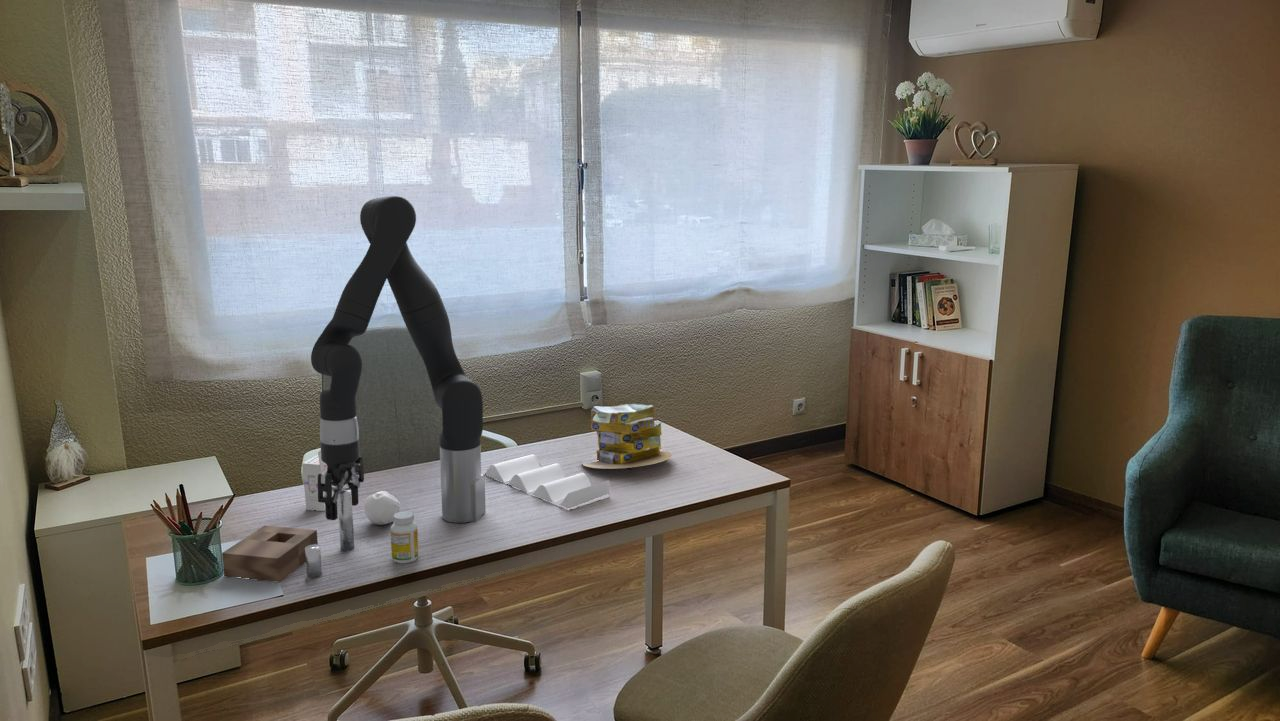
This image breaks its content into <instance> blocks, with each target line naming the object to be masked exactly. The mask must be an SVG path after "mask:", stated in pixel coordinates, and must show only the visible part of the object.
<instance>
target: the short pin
mask: <svg viewBox="0 0 1280 721" xmlns="http://www.w3.org/2000/svg"><path fill="white" fill-rule="evenodd" d="M321 551H322V550H321V545H320V544H318V545H316V544H313V545H309V546H306V547H305V556H306V562H305V566H306V578H307V579H309V580H315V579H319V578H321V577H322V576H323V569H322V566H323V565H322V556H321V555H322V552H321Z"/></svg>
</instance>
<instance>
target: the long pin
mask: <svg viewBox="0 0 1280 721" xmlns="http://www.w3.org/2000/svg"><path fill="white" fill-rule="evenodd" d="M337 500H338V502H337V513H338V528H339V531H338V532H339V541H340V542H339V543H340V551H343V552H351V551H354V550H355V535H354V519H353V518H354V517H353V505H352V497H351V489H349V487H343V489H342V492H341V493H339V495H338V498H337Z"/></svg>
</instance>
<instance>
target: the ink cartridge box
mask: <svg viewBox="0 0 1280 721" xmlns="http://www.w3.org/2000/svg"><path fill="white" fill-rule="evenodd" d="M301 466H302V475H303V487H304V499H305V510H306V509H307V510H306V511H314V510H316V511H317V512H326V508H325V503H322V502H318V474H319V473H320V474H325V473H326V472H327V464H326V463H324V462H323V461H322V460H321V450H319V451H318V452H317V455H315V456H313V457H312V458H311V457H310V459H308V460H306V461H304V462H302V463H301ZM332 487H335V486H333V485H332ZM324 494H325V492H323V496H324ZM333 494H334V492H332V497H333ZM337 503H338V500H337ZM316 511H315V512H316Z"/></svg>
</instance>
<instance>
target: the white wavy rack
mask: <svg viewBox="0 0 1280 721" xmlns="http://www.w3.org/2000/svg"><path fill="white" fill-rule="evenodd" d="M484 475H488V476H490V477H493V478H495V479H497V480H499V481H502V482H506V481H509V480H510V482H509V483H507V484H509V485H511V486H514V487H516V488H519V489H521V490H523V491H525V492H532V491H534V490H535V492H534V493H533V495H535V496H538V497H540V498H542V499H545V500H547V501H550V502H553V503H554V502H557V501H559V500H561V499H564V498H565V499H564V500H563V501H562V502H561V503H560V504H558V505H561V506H564V507H566V508H571V507H574V506H577V505H579V504H582V503H585V502H588V501H590V500H593V499H595V498H598V497H601V496H603V495H606V494H609V495H610V479H609V480H606V481H603V482H600V483H596V484H593V485H592V483H591V482H590V480H589V478H588V476H587V475H586V473H584V472H579V473H577V474H574V475H570V476H566V474H565V472H564V470H563V469H562V466H561V465H560V464H559V463H558V462H557V463H553V464H550V465H545V466H542V465H541V463H540V461H539V460H538V458H537V456H536V455H535V454H534V453H533V454H528V455H524V456H521V457H516V458H514V459H513V458H512V459H509V460H506V461H502V462H497V463H494V464H491V465H490V466H489V467H488V469H487V470H486V471H485V473H484ZM488 476H487V477H488ZM490 477H489V478H490ZM495 479H494V480H495ZM497 480H496V481H497ZM499 481H498V482H499ZM502 482H501V483H502ZM509 485H508V486H509ZM511 486H510V487H511ZM516 488H515V489H516ZM523 491H522V492H523ZM525 492H524V493H525Z"/></svg>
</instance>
